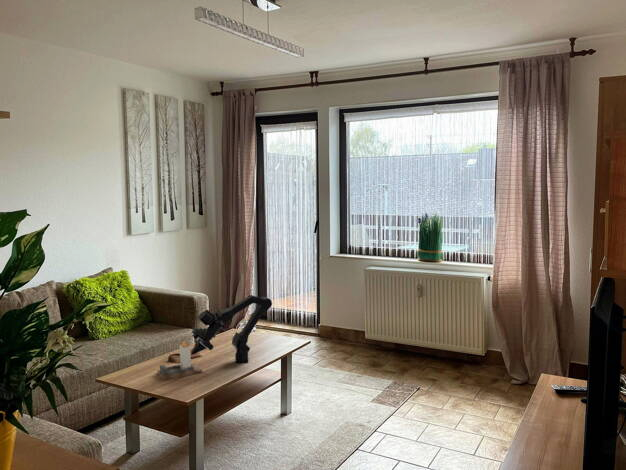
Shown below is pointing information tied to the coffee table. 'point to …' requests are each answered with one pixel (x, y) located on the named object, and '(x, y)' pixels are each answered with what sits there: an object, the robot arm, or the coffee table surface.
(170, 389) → the coffee table surface
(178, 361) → the sunglasses case
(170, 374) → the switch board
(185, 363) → the white tall boxy piece
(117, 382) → the coffee table surface
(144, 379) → the coffee table surface
